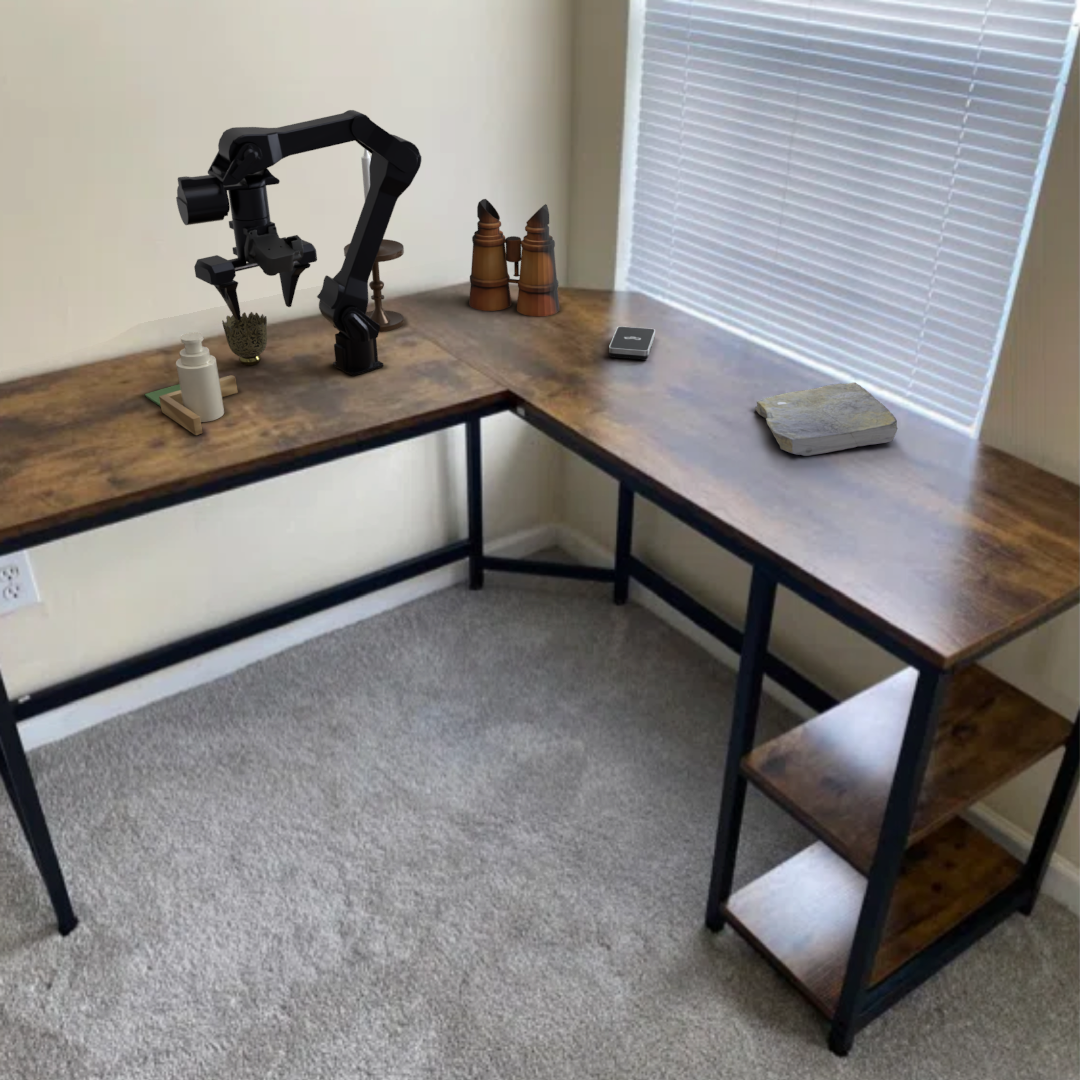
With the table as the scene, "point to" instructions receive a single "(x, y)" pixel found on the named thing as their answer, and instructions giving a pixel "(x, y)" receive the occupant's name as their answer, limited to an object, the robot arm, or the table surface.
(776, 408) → the grey stone slab
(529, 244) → the binoculars
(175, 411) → the corner rails
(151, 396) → the green cloth
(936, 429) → the table surface
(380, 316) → the candlestick
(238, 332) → the cup
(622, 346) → the external hard drive
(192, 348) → the lidded jar
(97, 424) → the table surface
